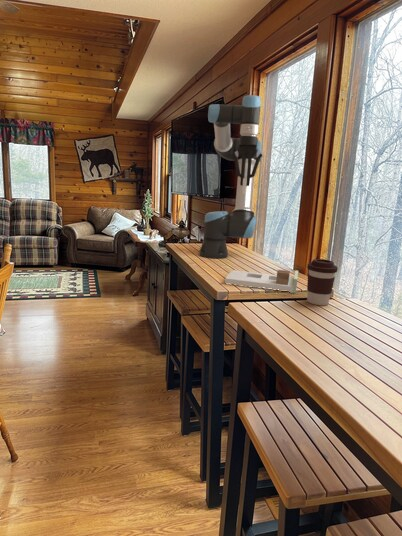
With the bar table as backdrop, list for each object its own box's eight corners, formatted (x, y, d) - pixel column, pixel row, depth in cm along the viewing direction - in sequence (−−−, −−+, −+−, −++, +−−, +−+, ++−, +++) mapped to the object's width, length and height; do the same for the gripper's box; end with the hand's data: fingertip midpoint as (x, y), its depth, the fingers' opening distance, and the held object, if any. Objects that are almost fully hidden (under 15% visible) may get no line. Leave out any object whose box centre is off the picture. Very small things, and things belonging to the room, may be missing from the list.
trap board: (231, 275, 165) (232, 263, 164) (296, 283, 159) (298, 270, 158) (224, 284, 151) (225, 270, 150) (295, 293, 145) (297, 279, 143)
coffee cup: (300, 303, 133) (305, 261, 130) (306, 296, 142) (311, 256, 138) (329, 309, 129) (335, 265, 125) (334, 301, 137) (340, 260, 134)
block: (276, 280, 152) (278, 269, 151) (288, 282, 151) (289, 271, 150) (275, 283, 148) (277, 272, 146) (287, 285, 146) (289, 273, 145)
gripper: (231, 134, 158) (227, 192, 164) (263, 135, 155) (258, 195, 161) (235, 136, 165) (230, 192, 171) (265, 137, 162) (260, 194, 168)
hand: (244, 193), depth 166 cm, fingers closed
